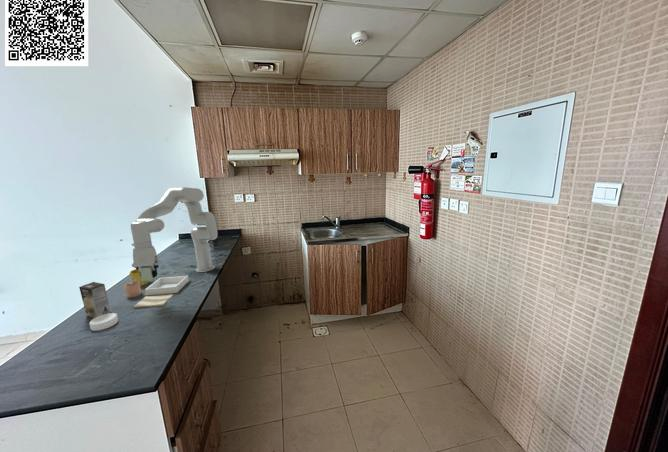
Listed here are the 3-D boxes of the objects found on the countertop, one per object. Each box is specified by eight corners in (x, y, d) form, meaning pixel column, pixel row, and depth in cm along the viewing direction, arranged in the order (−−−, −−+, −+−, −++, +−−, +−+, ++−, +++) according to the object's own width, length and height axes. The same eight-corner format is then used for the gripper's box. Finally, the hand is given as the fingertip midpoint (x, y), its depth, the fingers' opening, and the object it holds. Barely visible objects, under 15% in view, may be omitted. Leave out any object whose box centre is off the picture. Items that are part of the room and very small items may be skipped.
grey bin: (161, 284, 168) (159, 277, 167) (189, 282, 170) (188, 275, 169) (145, 296, 151) (144, 289, 151) (177, 294, 153) (175, 286, 152)
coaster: (109, 329, 120) (107, 322, 120) (85, 332, 119) (83, 325, 118) (122, 317, 130) (121, 311, 129) (100, 320, 128) (98, 314, 128)
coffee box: (85, 316, 132) (78, 286, 129) (100, 310, 138) (93, 281, 135) (97, 319, 129) (90, 288, 126) (112, 312, 135) (105, 283, 132)
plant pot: (156, 281, 174) (153, 267, 171) (143, 288, 163) (140, 273, 161) (141, 281, 175) (138, 267, 173) (128, 288, 165) (125, 273, 162)
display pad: (146, 297, 150) (145, 296, 150) (174, 295, 152) (173, 293, 152) (133, 308, 138) (132, 306, 138) (163, 305, 140) (163, 304, 140)
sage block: (147, 277, 144) (145, 265, 143) (157, 276, 145) (154, 264, 143) (142, 281, 139) (139, 268, 138) (152, 280, 140) (149, 267, 139)
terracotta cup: (131, 293, 156) (129, 281, 154) (144, 292, 157) (141, 280, 155) (124, 299, 149) (121, 286, 148) (137, 298, 150) (134, 285, 148)
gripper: (121, 247, 134) (128, 281, 137) (156, 245, 136) (162, 278, 139) (130, 244, 141) (136, 275, 145) (164, 241, 143) (169, 273, 147)
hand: (149, 276), depth 142 cm, fingers closed on sage block, 5 cm apart
